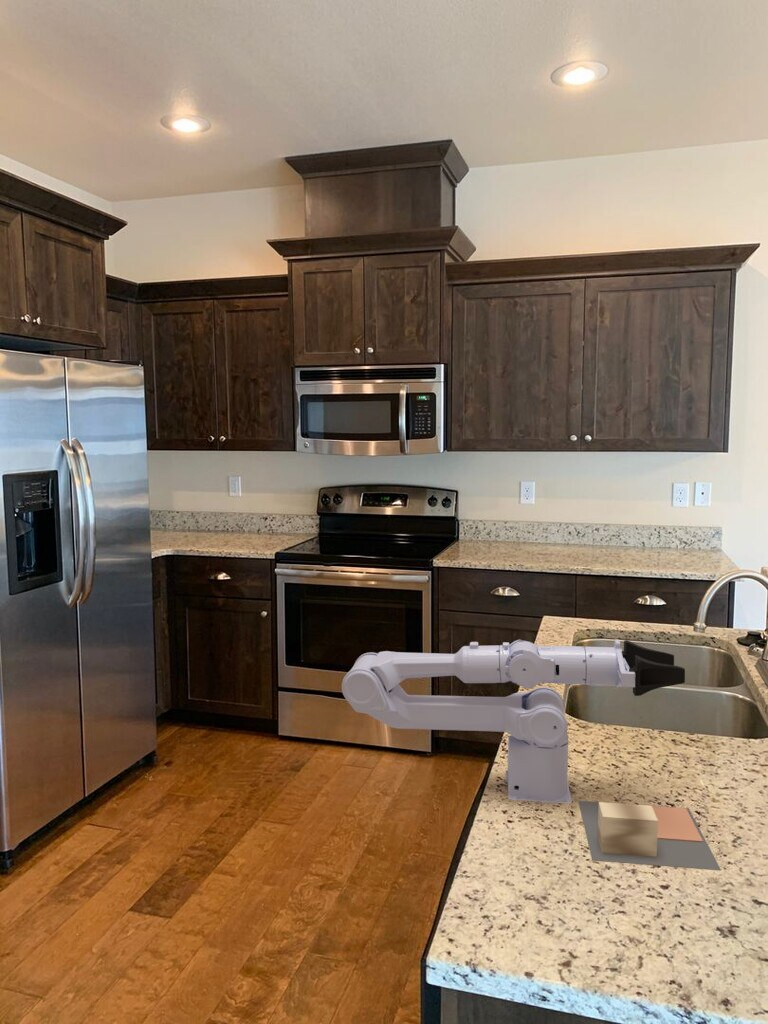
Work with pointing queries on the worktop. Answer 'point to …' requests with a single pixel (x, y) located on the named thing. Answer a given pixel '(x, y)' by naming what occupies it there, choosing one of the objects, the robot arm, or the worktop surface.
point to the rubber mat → (658, 840)
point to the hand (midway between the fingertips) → (678, 668)
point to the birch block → (627, 829)
